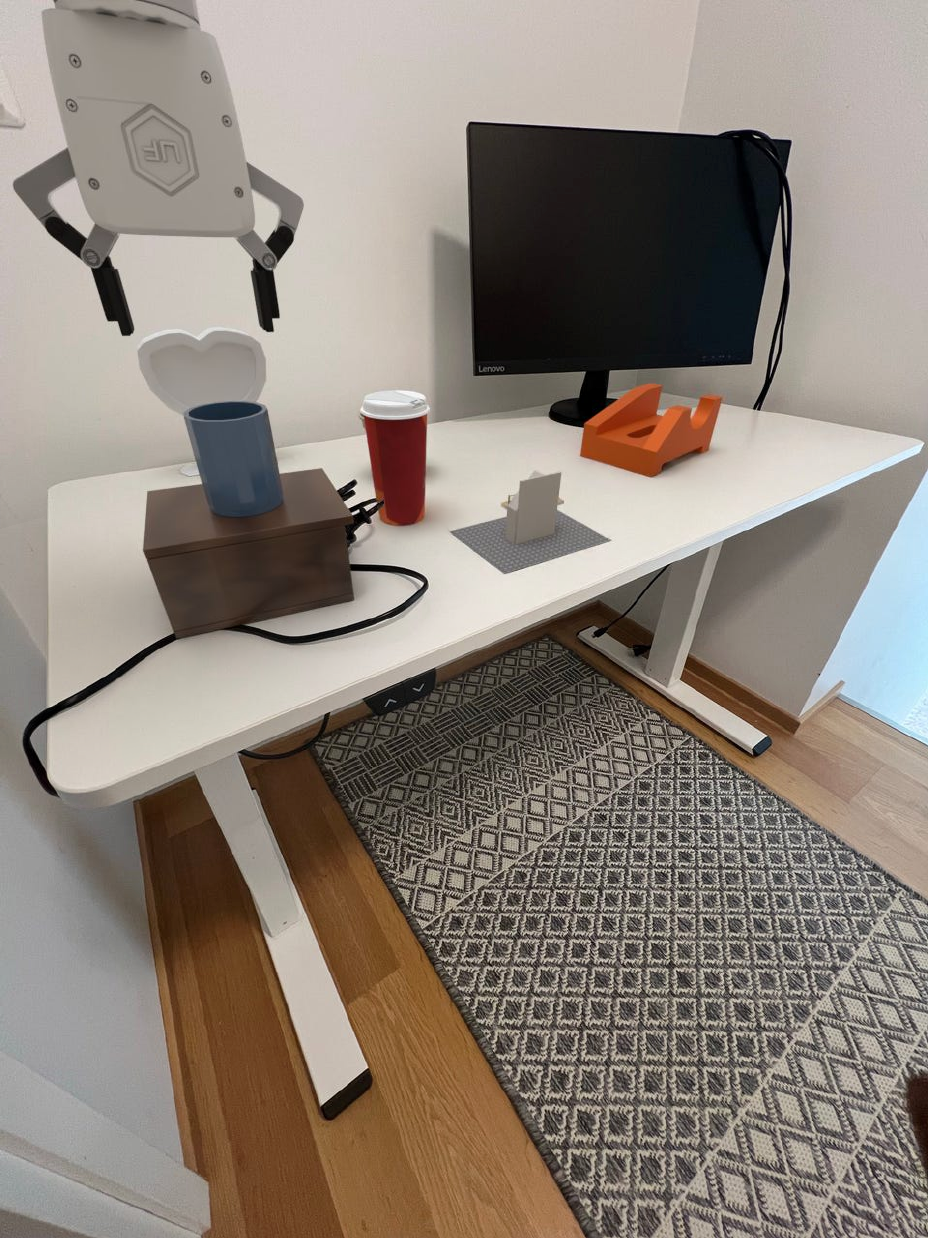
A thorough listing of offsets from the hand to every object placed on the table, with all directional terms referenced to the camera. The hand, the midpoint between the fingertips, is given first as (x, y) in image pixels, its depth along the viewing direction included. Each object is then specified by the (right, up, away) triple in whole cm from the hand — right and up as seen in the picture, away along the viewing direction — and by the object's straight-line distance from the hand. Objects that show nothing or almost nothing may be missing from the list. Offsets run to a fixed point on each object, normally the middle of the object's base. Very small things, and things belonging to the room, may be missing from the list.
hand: (200, 331), depth 41 cm
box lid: (0, -12, +9) cm, 15 cm away
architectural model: (+28, -12, +22) cm, 38 cm away
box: (0, -18, +13) cm, 22 cm away
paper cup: (+12, -9, +27) cm, 31 cm away
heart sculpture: (-15, +1, +41) cm, 43 cm away
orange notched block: (+49, +5, +47) cm, 68 cm away
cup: (0, -11, +8) cm, 14 cm away
